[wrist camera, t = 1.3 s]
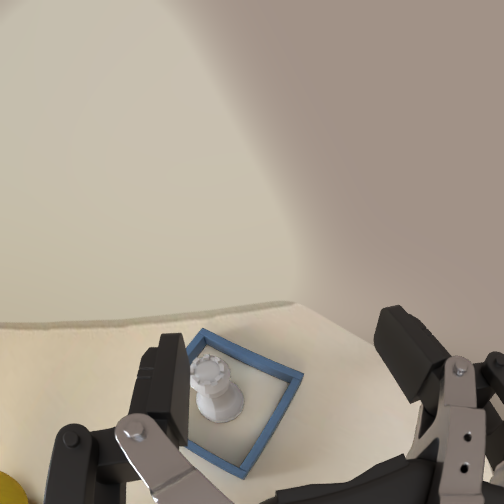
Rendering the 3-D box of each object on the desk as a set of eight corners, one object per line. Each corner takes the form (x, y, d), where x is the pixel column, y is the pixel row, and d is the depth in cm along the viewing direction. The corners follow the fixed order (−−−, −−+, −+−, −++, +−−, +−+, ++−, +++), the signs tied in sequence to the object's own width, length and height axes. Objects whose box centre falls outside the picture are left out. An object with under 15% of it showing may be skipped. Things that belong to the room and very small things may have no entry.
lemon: (22, 522, 7) (-28, 510, 2) (5, 483, 10) (-44, 462, 5) (49, 516, 10) (-4, 505, 5) (29, 474, 13) (-22, 453, 8)
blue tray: (205, 336, 29) (202, 327, 28) (302, 380, 25) (304, 373, 24) (141, 415, 22) (134, 410, 21) (244, 479, 17) (242, 479, 16)
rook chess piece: (242, 426, 21) (234, 400, 16) (194, 420, 22) (170, 392, 17) (246, 384, 25) (241, 345, 20) (202, 380, 25) (183, 340, 20)
